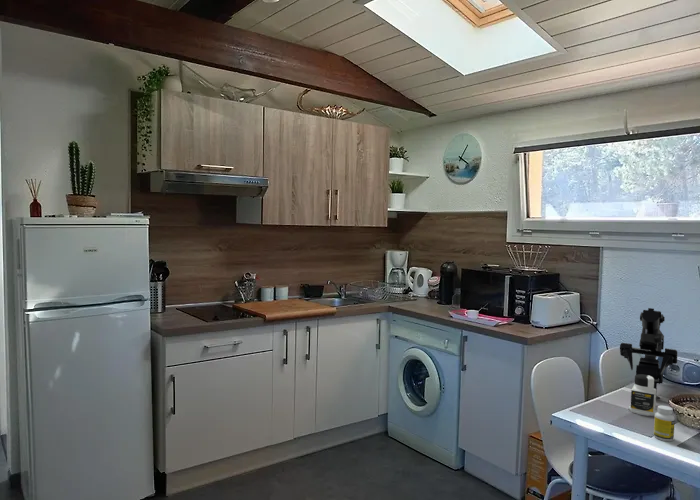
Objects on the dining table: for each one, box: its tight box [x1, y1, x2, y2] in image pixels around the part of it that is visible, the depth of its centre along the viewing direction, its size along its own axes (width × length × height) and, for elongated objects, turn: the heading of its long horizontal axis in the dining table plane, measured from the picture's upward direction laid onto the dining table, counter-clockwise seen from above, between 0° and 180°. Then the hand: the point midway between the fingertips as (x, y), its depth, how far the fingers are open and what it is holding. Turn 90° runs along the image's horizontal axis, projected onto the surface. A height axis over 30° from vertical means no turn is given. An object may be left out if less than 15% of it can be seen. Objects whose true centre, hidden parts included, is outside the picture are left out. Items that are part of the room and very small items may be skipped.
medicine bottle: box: [630, 374, 657, 413], centre depth 182 cm, size 7×7×12 cm
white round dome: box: [628, 403, 658, 417], centre depth 183 cm, size 9×9×1 cm
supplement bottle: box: [653, 405, 676, 442], centre depth 159 cm, size 5×5×10 cm
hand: (645, 371), depth 188 cm, fingers open, 9 cm apart
